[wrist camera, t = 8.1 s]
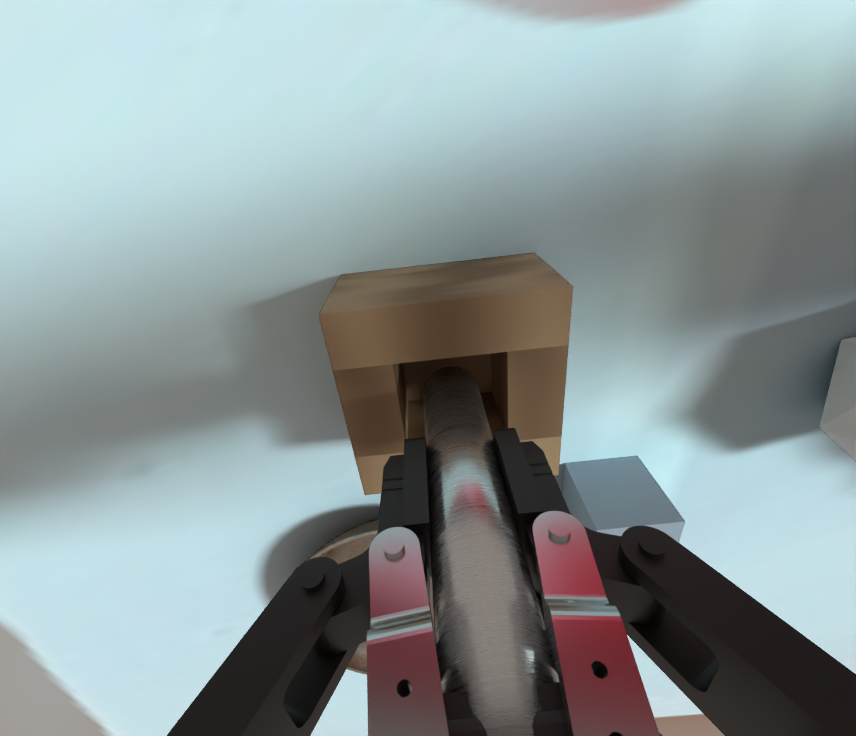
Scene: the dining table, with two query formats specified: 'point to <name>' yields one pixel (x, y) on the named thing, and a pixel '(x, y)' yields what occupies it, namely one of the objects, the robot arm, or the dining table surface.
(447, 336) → the bore block
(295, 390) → the dining table surface
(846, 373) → the die
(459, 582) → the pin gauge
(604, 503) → the slate block
